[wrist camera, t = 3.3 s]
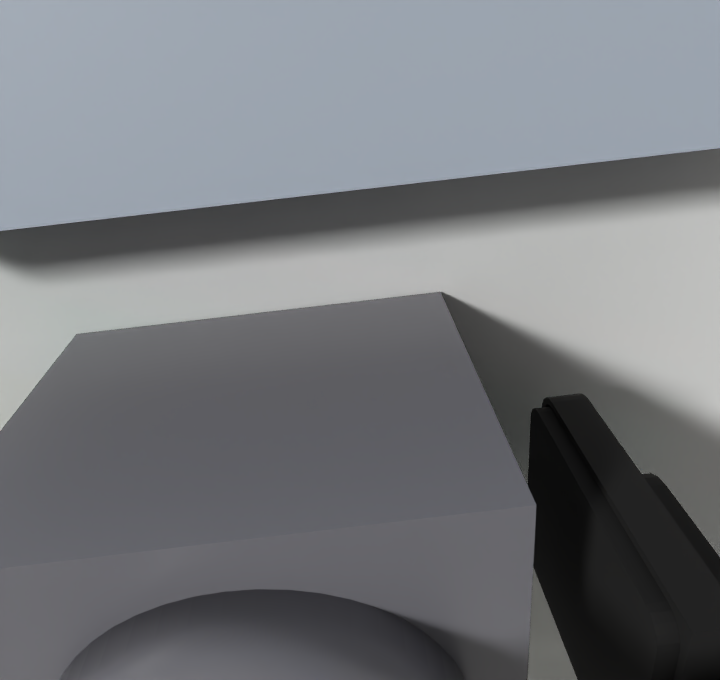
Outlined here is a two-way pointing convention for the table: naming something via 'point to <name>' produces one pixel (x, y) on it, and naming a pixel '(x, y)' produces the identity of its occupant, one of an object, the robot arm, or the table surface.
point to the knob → (265, 505)
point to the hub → (333, 96)
